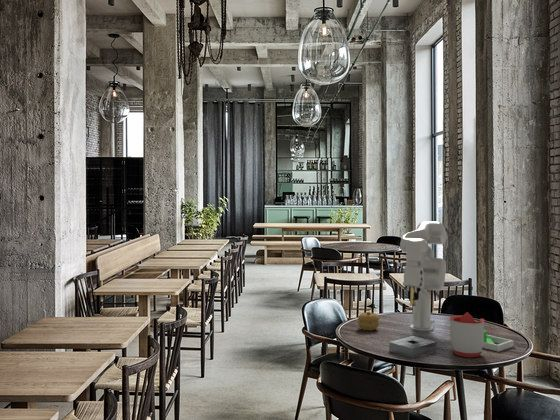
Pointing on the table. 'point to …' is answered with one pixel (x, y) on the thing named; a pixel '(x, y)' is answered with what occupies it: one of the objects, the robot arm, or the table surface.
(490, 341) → the mechanical part
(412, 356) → the base block
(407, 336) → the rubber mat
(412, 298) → the brass pin
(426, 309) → the robot arm
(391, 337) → the table surface
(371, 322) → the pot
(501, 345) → the frame
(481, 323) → the citrus juicer
